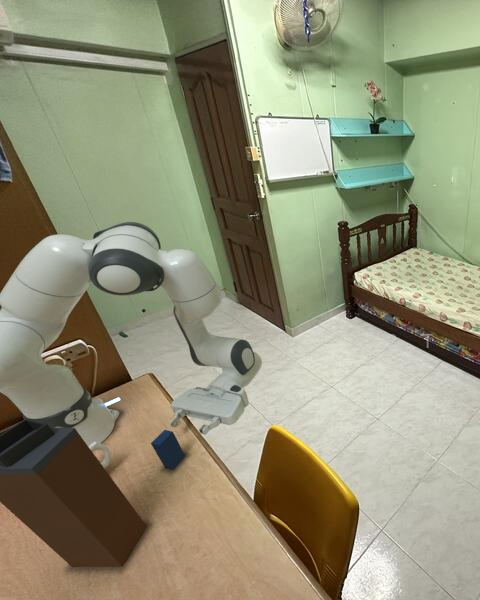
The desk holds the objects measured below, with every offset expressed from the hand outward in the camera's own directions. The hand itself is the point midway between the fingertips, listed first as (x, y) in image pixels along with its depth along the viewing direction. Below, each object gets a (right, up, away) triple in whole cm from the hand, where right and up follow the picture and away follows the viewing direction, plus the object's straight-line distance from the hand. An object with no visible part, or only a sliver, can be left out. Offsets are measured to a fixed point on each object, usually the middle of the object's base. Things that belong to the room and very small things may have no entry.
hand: (186, 429), depth 84 cm
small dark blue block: (-1, -8, -3) cm, 8 cm away
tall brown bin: (-3, -17, -19) cm, 25 cm away
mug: (-17, -10, -7) cm, 21 cm away
